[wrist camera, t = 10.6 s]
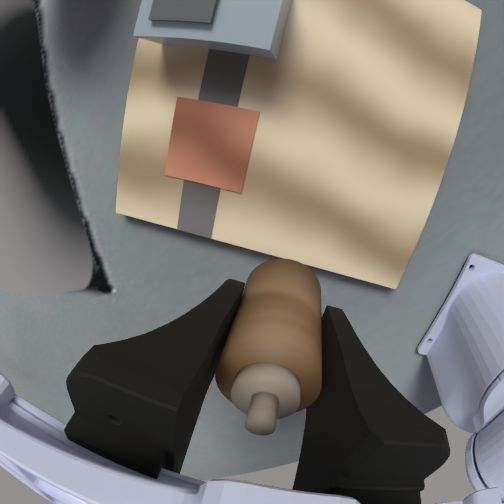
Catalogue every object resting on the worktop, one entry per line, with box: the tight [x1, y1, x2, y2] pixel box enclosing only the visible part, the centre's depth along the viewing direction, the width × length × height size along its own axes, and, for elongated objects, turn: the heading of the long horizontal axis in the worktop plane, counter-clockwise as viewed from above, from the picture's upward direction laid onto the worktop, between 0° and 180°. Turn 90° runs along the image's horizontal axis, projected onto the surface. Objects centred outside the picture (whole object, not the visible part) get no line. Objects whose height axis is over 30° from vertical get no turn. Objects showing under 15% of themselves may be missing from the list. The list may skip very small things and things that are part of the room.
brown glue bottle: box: [215, 259, 322, 435], centre depth 11 cm, size 3×3×7 cm
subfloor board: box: [116, 0, 482, 289], centre depth 17 cm, size 20×20×1 cm
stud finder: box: [133, 0, 292, 60], centre depth 13 cm, size 4×7×4 cm, turn 77°
